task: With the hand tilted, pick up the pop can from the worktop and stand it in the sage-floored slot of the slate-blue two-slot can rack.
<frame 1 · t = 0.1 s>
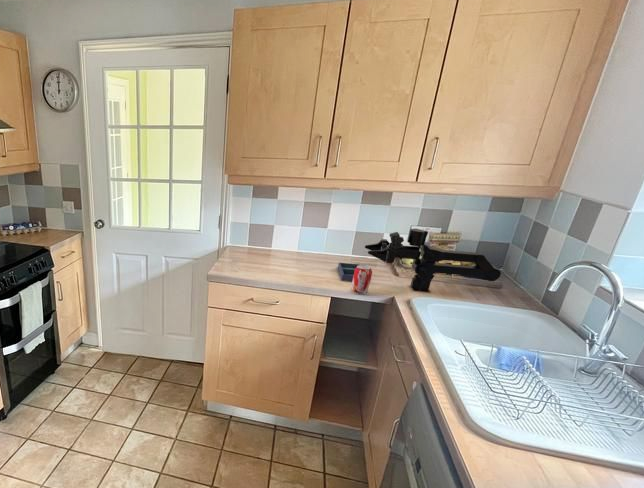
hand: (366, 249, 188), 17 cm above the worktop, tool horizontal, fingers open, 9 cm apart
can rack: (350, 275, 205), on the worktop
soda can: (358, 292, 184), on the worktop
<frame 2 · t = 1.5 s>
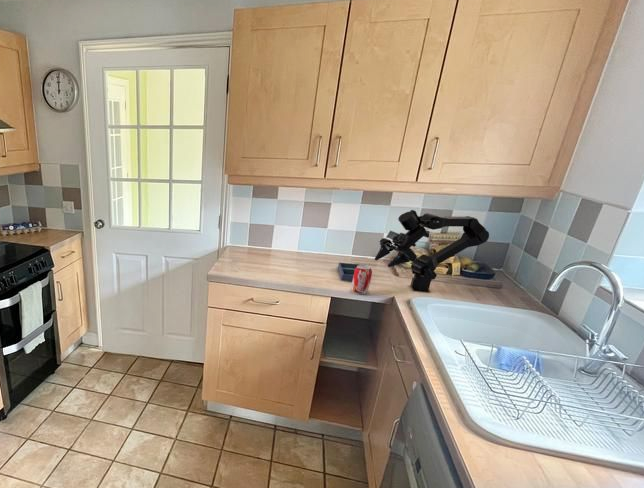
hand: (381, 263, 180), 13 cm above the worktop, tool tilted 45°, fingers open, 9 cm apart
nothing on the worktop moved.
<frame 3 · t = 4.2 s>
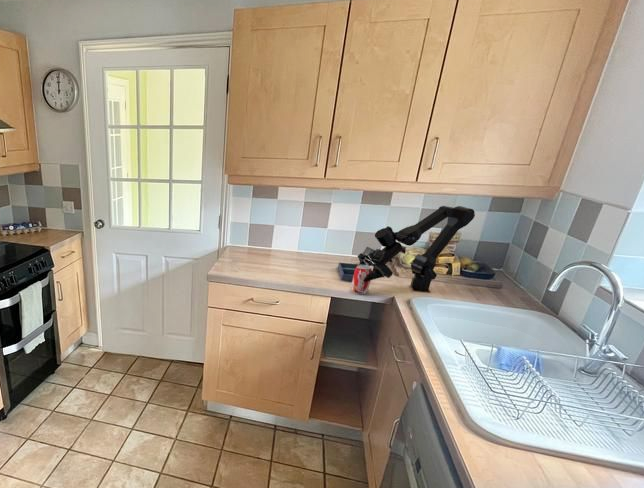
hand: (358, 278, 181), 7 cm above the worktop, tool tilted 45°, fingers closed on soda can, 7 cm apart
soda can: (358, 292, 184), on the worktop, touching gripper
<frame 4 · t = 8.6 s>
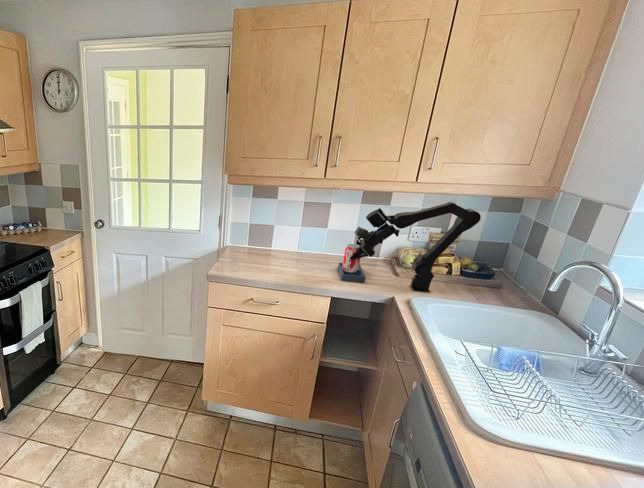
hand: (349, 256, 191), 12 cm above the worktop, tool tilted 45°, fingers closed on soda can, 7 cm apart
soda can: (349, 271, 194), point 6 cm above the worktop, touching gripper
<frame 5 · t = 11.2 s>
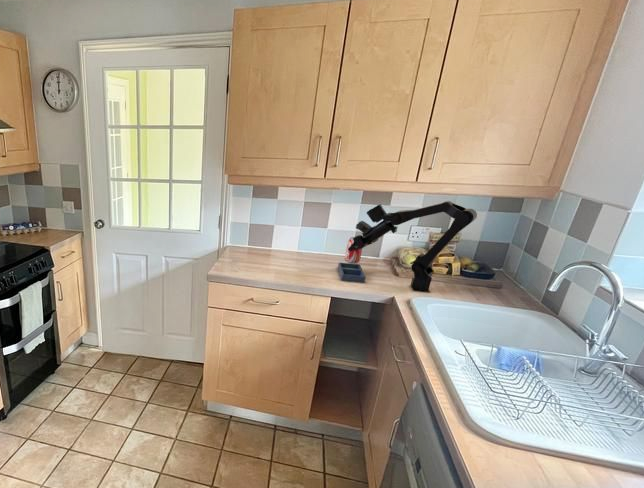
hand: (351, 248, 205), 12 cm above the worktop, tool tilted 45°, fingers closed on soda can, 7 cm apart
soda can: (351, 262, 206), point 5 cm above the worktop, touching gripper
when the fingers open (7 cm above the worktop, at t = 13.2 s): soda can stays where it is, resting on can rack.
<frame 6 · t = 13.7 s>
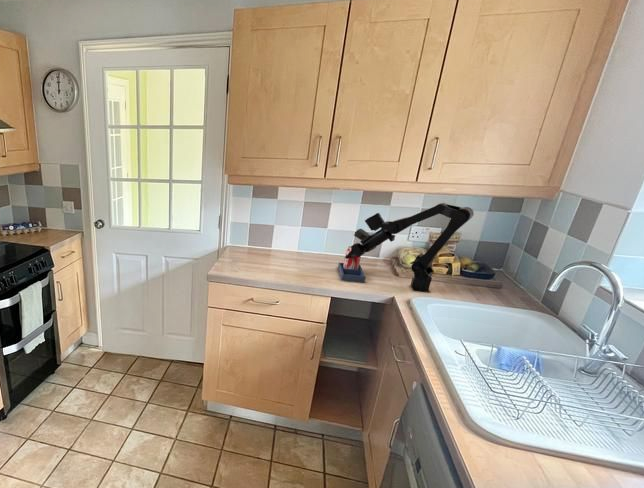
hand: (349, 255, 206), 8 cm above the worktop, tool tilted 45°, fingers open, 9 cm apart
soda can: (349, 271, 208), point 1 cm above the worktop, touching can rack
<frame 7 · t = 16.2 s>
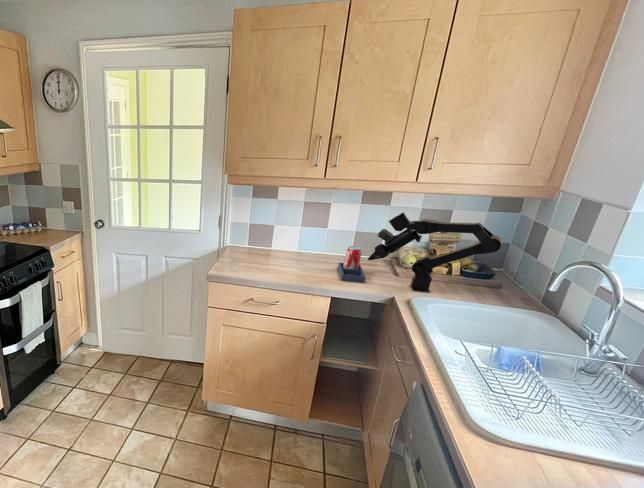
hand: (372, 257, 198), 10 cm above the worktop, tool tilted 45°, fingers open, 9 cm apart
nothing on the worktop moved.
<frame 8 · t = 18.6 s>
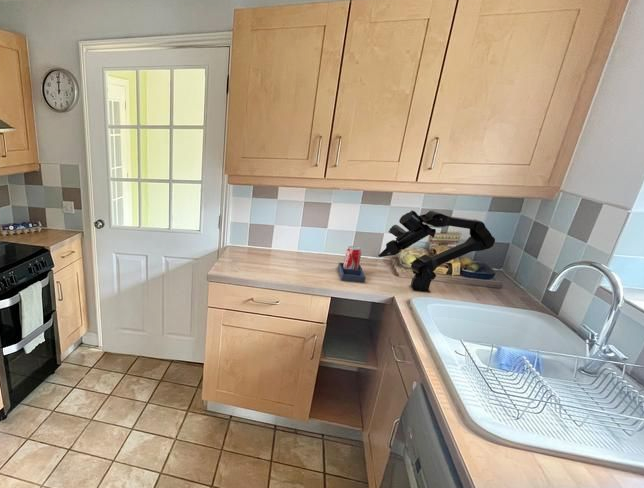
hand: (382, 254, 191), 14 cm above the worktop, tool tilted 45°, fingers open, 9 cm apart
nothing on the worktop moved.
at the end: soda can 0.1 cm from the target spot in the can rack, point 0.5 cm above the can rack's base; soda can tilted 0°; the gripper is holding nothing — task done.
